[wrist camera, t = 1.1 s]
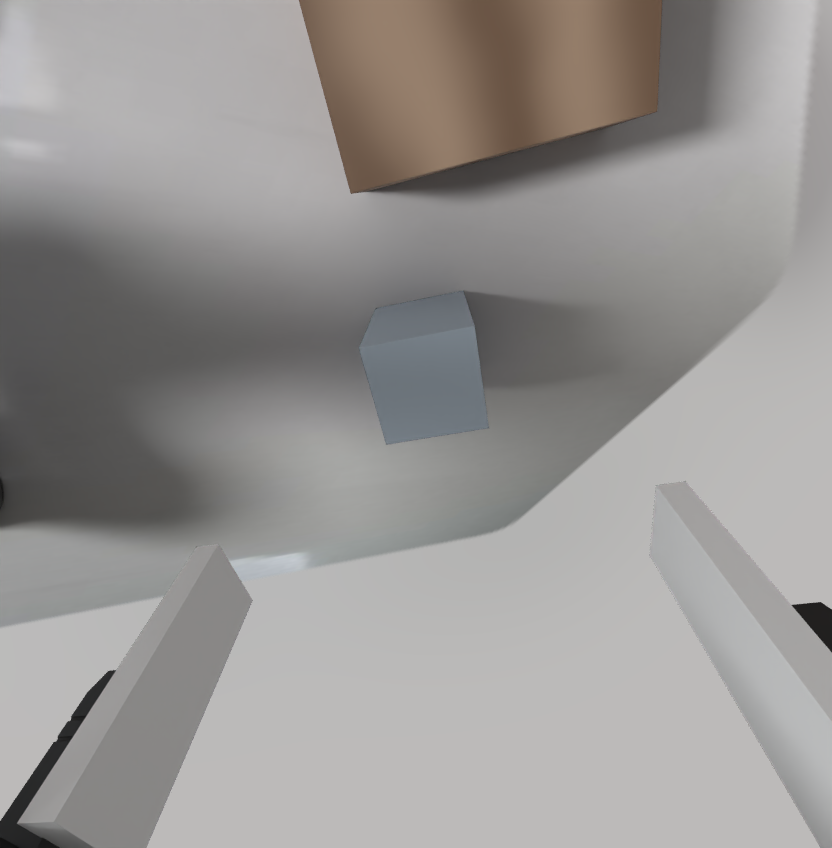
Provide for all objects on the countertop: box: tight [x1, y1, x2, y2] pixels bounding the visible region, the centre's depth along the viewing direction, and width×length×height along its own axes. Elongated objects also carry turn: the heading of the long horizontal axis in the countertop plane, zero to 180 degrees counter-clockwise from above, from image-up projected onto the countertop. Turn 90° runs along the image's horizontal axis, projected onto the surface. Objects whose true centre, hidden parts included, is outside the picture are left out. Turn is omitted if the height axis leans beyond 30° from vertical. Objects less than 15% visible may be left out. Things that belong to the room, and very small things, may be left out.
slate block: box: [359, 291, 489, 445], centre depth 26 cm, size 6×6×8 cm
